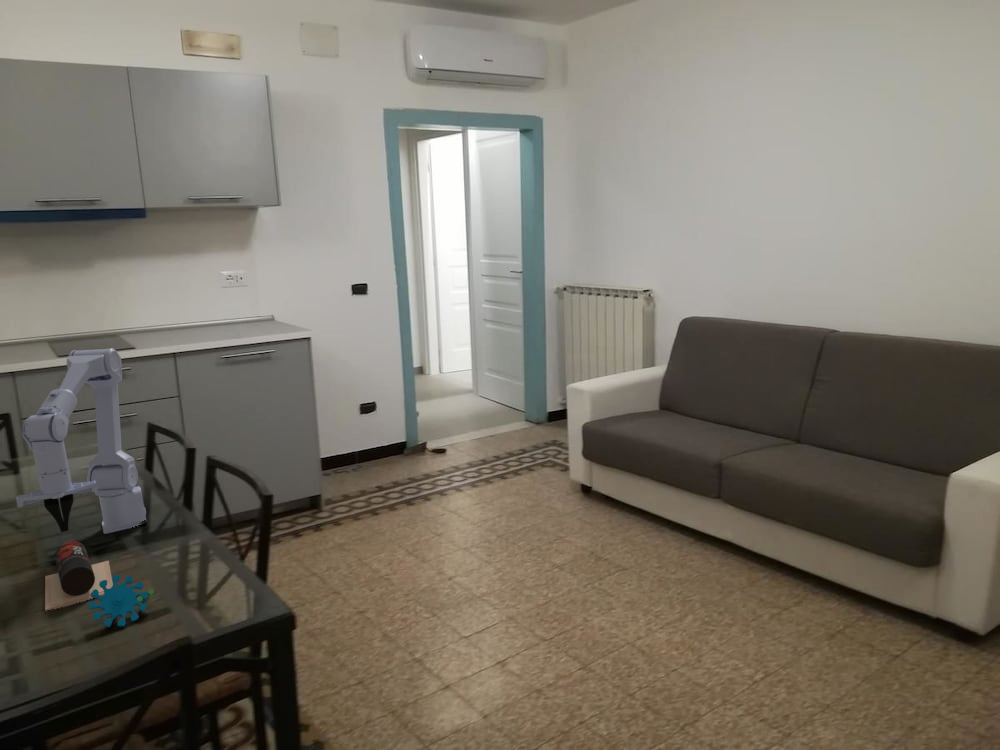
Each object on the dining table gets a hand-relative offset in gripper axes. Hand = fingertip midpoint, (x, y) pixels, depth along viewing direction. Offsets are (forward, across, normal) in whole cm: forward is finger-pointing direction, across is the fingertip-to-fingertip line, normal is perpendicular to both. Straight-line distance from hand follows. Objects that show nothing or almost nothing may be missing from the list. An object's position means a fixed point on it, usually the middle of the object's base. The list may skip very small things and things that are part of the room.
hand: (64, 529), depth 157 cm
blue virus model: (+10, +8, -28) cm, 31 cm away
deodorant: (+6, 0, 0) cm, 6 cm away
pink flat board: (+9, +1, -9) cm, 13 cm away
